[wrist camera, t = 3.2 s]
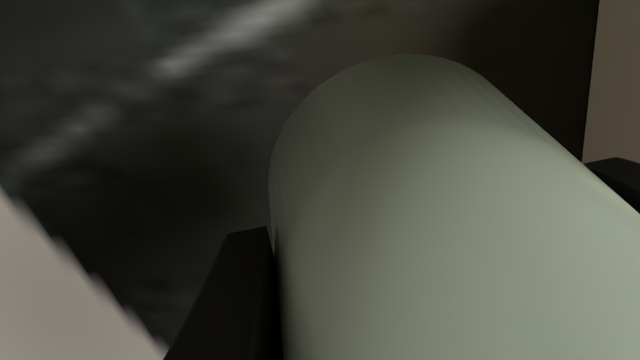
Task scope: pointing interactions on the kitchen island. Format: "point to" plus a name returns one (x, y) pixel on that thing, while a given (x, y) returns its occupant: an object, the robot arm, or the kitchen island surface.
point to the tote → (615, 84)
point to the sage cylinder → (443, 227)
